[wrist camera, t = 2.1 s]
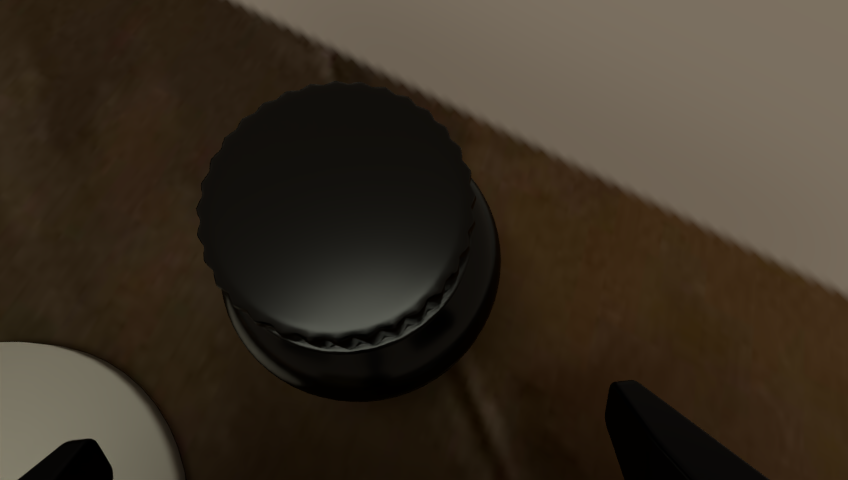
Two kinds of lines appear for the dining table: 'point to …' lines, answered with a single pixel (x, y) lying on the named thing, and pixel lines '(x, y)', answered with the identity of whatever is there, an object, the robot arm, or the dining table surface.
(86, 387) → the cream plate
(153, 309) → the dining table surface
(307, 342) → the supplement bottle
